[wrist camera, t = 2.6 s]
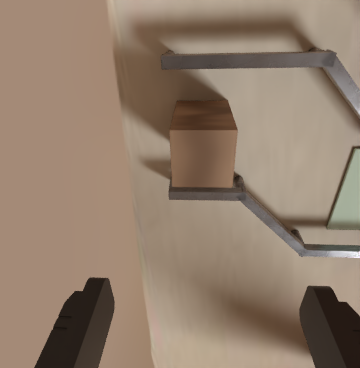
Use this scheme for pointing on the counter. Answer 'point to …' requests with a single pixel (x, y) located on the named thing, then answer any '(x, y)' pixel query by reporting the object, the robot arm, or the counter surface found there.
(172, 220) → the counter surface
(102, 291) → the robot arm
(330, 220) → the mat
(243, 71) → the counter surface
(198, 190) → the wire channel
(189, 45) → the counter surface
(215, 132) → the walnut block
